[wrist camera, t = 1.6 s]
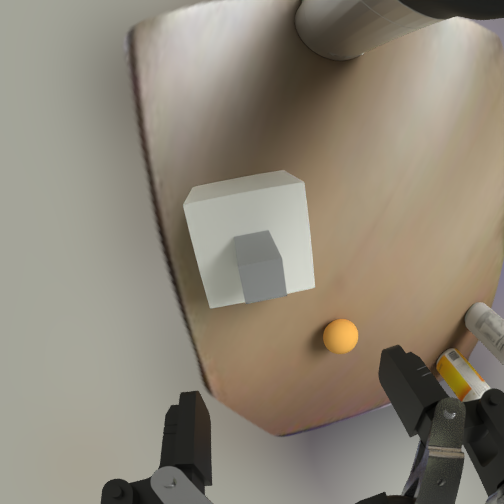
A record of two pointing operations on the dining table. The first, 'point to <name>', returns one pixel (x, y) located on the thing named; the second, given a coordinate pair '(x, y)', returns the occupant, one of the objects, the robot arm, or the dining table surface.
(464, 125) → the dining table surface
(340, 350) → the ball
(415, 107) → the dining table surface
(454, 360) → the yellow white cylinder
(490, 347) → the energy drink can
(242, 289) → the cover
